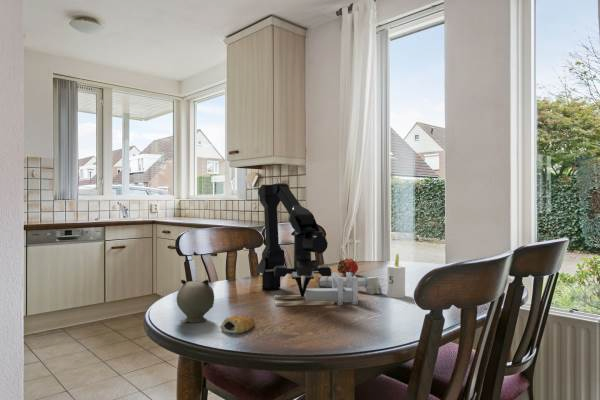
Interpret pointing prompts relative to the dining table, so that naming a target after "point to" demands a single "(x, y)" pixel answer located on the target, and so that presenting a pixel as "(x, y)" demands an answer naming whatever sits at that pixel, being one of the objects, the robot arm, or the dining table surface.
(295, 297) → the guide rails
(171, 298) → the dining table surface
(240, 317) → the pastry
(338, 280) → the slotted u bracket
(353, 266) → the dragon fruit
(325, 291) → the gray rectangular bar
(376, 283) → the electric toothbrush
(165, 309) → the dining table surface
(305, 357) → the dining table surface
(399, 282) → the candle
